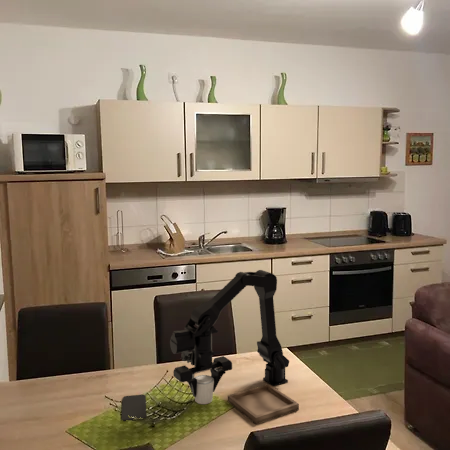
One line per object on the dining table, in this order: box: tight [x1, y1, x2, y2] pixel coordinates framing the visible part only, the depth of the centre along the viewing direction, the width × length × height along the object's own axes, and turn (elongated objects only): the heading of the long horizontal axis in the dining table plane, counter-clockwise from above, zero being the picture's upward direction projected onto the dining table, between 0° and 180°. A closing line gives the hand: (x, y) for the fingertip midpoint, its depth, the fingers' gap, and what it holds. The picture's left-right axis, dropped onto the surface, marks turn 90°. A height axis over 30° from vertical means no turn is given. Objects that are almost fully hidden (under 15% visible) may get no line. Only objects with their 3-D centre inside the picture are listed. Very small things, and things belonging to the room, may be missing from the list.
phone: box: [121, 394, 147, 422], centre depth 149 cm, size 7×1×15 cm
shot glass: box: [194, 374, 214, 405], centre depth 153 cm, size 7×7×7 cm
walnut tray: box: [227, 383, 300, 425], centre depth 150 cm, size 16×16×2 cm
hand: (203, 393), depth 154 cm, fingers closed on shot glass, 6 cm apart
